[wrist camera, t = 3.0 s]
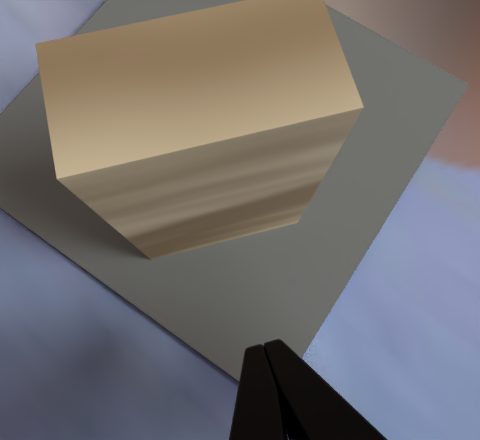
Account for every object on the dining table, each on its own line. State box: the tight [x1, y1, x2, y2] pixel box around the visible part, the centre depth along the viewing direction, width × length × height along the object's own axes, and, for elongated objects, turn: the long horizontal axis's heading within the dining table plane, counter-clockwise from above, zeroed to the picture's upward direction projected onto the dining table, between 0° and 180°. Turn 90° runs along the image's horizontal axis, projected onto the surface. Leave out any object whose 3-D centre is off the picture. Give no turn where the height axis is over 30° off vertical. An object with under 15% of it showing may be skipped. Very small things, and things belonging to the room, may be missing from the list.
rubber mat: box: [0, 0, 469, 381], centre depth 18 cm, size 16×16×1 cm
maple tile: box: [35, 0, 364, 260], centre depth 13 cm, size 3×6×9 cm, turn 105°
